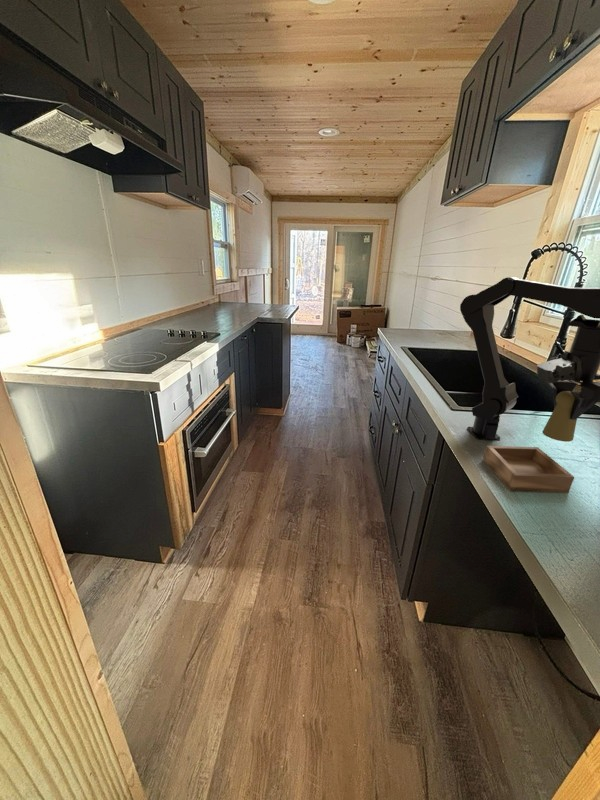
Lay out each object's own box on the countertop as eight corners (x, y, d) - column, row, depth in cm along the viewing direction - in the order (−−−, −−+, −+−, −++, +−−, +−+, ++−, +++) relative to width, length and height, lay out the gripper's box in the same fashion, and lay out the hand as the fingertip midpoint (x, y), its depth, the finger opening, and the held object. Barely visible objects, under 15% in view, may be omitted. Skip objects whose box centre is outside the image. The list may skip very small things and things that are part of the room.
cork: (543, 427, 83) (557, 386, 78) (573, 434, 79) (589, 392, 75) (541, 436, 78) (555, 393, 74) (572, 444, 75) (589, 400, 70)
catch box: (483, 459, 80) (486, 445, 79) (533, 461, 80) (537, 447, 78) (510, 491, 69) (515, 475, 68) (568, 492, 69) (574, 477, 67)
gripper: (524, 339, 79) (507, 398, 85) (582, 360, 62) (556, 432, 68) (570, 340, 79) (551, 399, 85) (642, 361, 62) (611, 434, 68)
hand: (564, 414), depth 77 cm, fingers closed on cork, 5 cm apart
